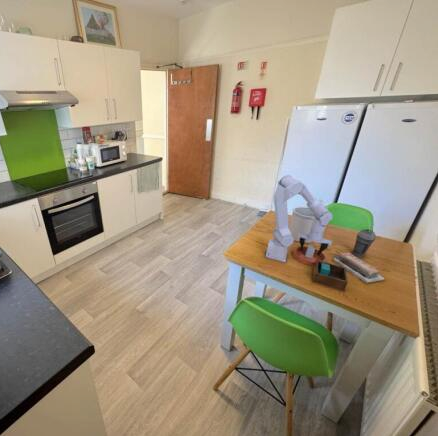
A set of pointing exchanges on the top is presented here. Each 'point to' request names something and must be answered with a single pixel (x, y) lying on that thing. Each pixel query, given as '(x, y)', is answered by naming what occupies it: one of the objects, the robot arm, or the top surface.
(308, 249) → the silver packet
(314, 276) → the box
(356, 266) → the packaged product
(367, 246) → the beverage cup
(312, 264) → the bowl
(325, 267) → the teal packet
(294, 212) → the utensil holder
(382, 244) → the top surface
